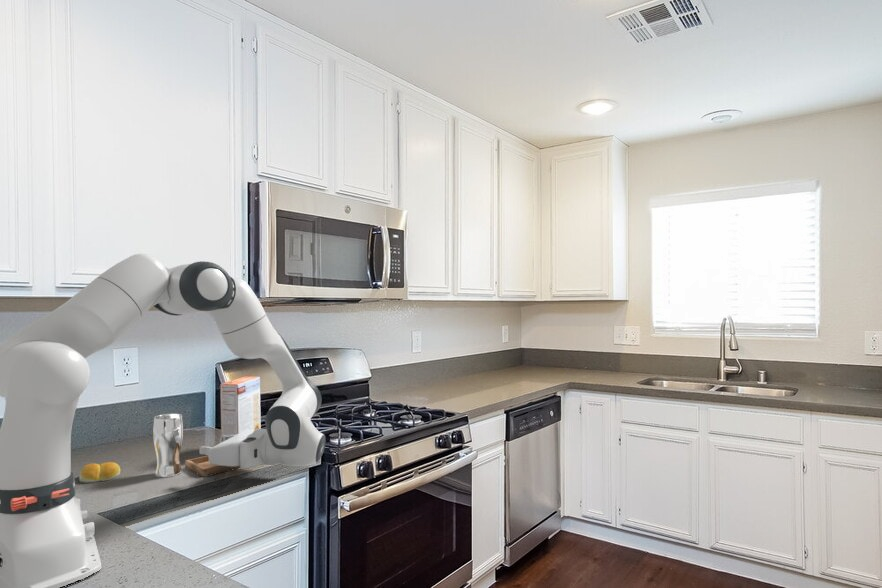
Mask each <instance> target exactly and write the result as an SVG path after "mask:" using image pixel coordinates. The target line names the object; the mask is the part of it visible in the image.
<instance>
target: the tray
mask: <svg viewBox="0 0 882 588" xmlns="http://www.w3.org/2000/svg"><path fill="white" fill-rule="evenodd" d="M184 461H185V462H184V466H185V469H187V470H188V471H191V472H193V473H195V474H197V473H198V474H197V475H199V474H200V475H199V476H201V475H202V476H201V477H203V476H206V477H208V476H207V475H210V476H212V475H211V474H214V475H216V474H215V473H218V474H220V473H219V472H222V473H225V472H224V471H226V472H229V471H228V470H230V471H233V470H232V469H234V470H238V469H241V468H240V466H220V465H213V464H211V463H209V457H208V455H205V456H204V455H203V456H199V457H195V458H190V459H186V460H184ZM237 468H238V469H237Z"/></svg>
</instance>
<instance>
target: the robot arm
mask: <svg viewBox="0 0 882 588" xmlns="http://www.w3.org/2000/svg"><path fill="white" fill-rule="evenodd" d="M153 307H154V308H155V309H157V310H158V311H159V312H161V313H163V314H166V315H169V316H176V317H177V316H183V315H185V316H186V315H197V314H201V313H204V312H205V313H207V314H209V315H210V317H211V318H212V319H213V320H214V321H215V324H216V326H217V328H218V331H219V332H220V335H221V337H222V339H223V341H224V344H226V346H227V347H228V349H229V350H230V352H231V353H232V354H233V355H234V356H236V357H237V358H238V357H239V358H240V359H241V358H242V359H244V360H245V359H247V360H254V359H255V360H256V359H263V360H265V361H266V362H267V363H268V364H269V365H270V367H271V369H272V370H273V372H274V374H275V375H276V376H277V379H278V380H279V381H280V384H281V386H282V392H281V395H280V397H278V399H277V400H276V401H275V402H274V403H273V404H272V405H271V407H270V408H269V409H268V411H267V413H266V414H265V418H264V423H265V424H264V425H265V427H266V428H261V429H248V430H244V431H243V432H241V433H239V434H237V435H230V436H222V437H221V436H220V437H219V439H218V440H219V443H218V444H216V445H214V446H210V445H202V446H200V447H199V455H205V456H207V455H208V457H209V463H211V464H213V465H220V466H240V468H239V469H242V470H249V469H252V468H255V467H257V466H258V467H260V466H274V465H284V466H287V467H305V466H306V467H308V466H313V465H316V464H318V463H319V461H320V460H321V458H322V456H323V454H324V451H325V448H326V435H325V433H322V432H320V431H319V430H318V429H317V428H316V427H315V425H314V423H313V422H312V420H311V419H312V417H314V415H315V414H317V412H318V411H319V410H320V408H321V405H322V400H323V399H322V394H321V391H320V389H319V388H318V386H317V385H315V383H313V382H312V381H311V379H310V378H309V377H308V376H307V375H306V374H305V372H304V370H303V369H302V367H301V366H300V363H299V362H298V360H297V358H296V357H295V355H294V353H293V352H292V350H291V348H290V347H289V345H288V344H287V342H286V341H285V339H284V338H283V336H282V335H281V334H280V333H279V332H277V331H276V329H275V328H274V325H272V323H271V321H270V319H269V317H268V315H267V313H266V311H265V309H264V307H263V306H262V303H261V301H260V300H259V298H258V297H257V295H256V294H255V292H254V291H253V289H252V287H251V286H250V285H249V284H248V282H247V281H245V280H244V279H242V278H240V277H239V278H238V277H232V276H231V275H229V273H228V272H227V271H226V270H225V268H223V267H222V266H220V264H219V265H218V264H217V263H215V262H210V261H204V260H203V261H195V262H192V263H185V264H181V265H177V266H174V267H170V268H168V267H166V266H165V265H164V264H163V263H162V262H161V261H160V260H159V259H158V258H155V257H154V256H151V255H149V254H146V253H136V254H135V253H134V254H133V255H130V256H129V257H128V256H127V258H124V259H123V260H121V261H119V262H118V263H116V264H115V265H113V266H111V267H109V268H108V269H106V270H105V271H104V272H102V273H101V274H100V275H98V276H97V277H96V278H94V279H93V280H92V281H90V283H88V284H87V285H86V286H85V287H83V288H82V289H81V290H79V291H78V292H77V293H76V294H74V295H73V296H72V297H70V299H68V300H67V301H66V302H64V303H63V304H61V305H60V306H58V307H57V308H55V309H53V310H52V311H50V312H49V313H47V314H46V315H44V316H42V317H41V318H38V319H37V320H36V321H34V322H32V323H29V325H27V326H25V327H24V328H22V329H21V330H19V331H17V332H16V333H14V334H13V335H12V336H10V337H8V338H7V339H5V340H4V341H1V342H0V397H1V398H4V399H5V407H4V413H3V418H2V422H1V425H0V588H58V587H61V586H64V585H67V584H69V583H72V582H74V581H77V580H80V579H83V578H85V577H88V576H89V575H91V574H93V573H95V572H97V571H99V570H100V569H101V568H103V567H102V562H101V557H100V553H99V551H98V546H97V543H96V538H95V536H94V535H95V531H96V530H95V522H93V521H90V522H87V523H84V521H83V520H84V519H87V518H88V510H87V509H86V510H82V509H81V499H79V498H78V497H76V496H75V495H76V490H75V487H76V482H75V478H74V473H73V472H72V471H71V470H72V469H71V468H72V467H71V466H72V465H71V460H72V459H71V455H72V454H71V452H72V450H71V449H72V447H71V444H72V441H71V440H72V428H73V424H74V420H75V415H76V414H75V413H76V411H77V407H78V403H79V400H80V396H81V395H82V394H83V392H84V391H85V390H86V388H87V386H88V384H89V382H90V378H91V369H90V365H89V363H88V361H87V360H86V359H87V358H88V357H90V356H92V355H93V354H95V353H96V352H99V351H102V350H104V349H106V348H108V347H109V346H111V345H112V344H113V343H114V342H116V341H117V340H118V339H119V337H121V336H122V335H123V334H124V333H126V331H127V330H128V329H130V327H131V326H133V325H134V324H135V323H136V322H138V320H139V319H141V318H142V317H143V316H144V315H145V314H146V313H147V312H148V311H149V310H150V309H151V308H153ZM101 570H102V569H101ZM101 570H100V571H101ZM100 571H99V572H100ZM97 573H98V572H97ZM95 574H96V573H95ZM88 578H89V577H88ZM83 580H84V579H83Z"/></svg>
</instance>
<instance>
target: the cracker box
mask: <svg viewBox="0 0 882 588" xmlns="http://www.w3.org/2000/svg"><path fill="white" fill-rule="evenodd" d="M219 389H220V390H219V391H220V395H219V396H220V398H219V399H220V433H221V434H220V435H221V436H220V437H222V436H230V435H237V434H239V433H241V432H243V431H244V430H248V429H262V428H261V427H262V425H261V423H262V421H261V420H262V419H261V418H262V417H261V377H260V376H242V377H239V378H235V379H232V380H230V381H227V382H224V383H221V384H220V386H219Z"/></svg>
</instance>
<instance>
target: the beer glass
mask: <svg viewBox="0 0 882 588" xmlns="http://www.w3.org/2000/svg"><path fill="white" fill-rule="evenodd" d="M152 429H153V430H152V431H153V433H152V435H153V446H154V450H155V455H156V469H155V477H157V478H170V477H175V476H178V475H180V474H181V473H182V468H181V461H180V455H181V449H182V443H183V437H184V436H183V434H184V426H183V414H181V413H163V414H159V415H155V416H154V418H153V428H152ZM174 475H175V476H174Z"/></svg>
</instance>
